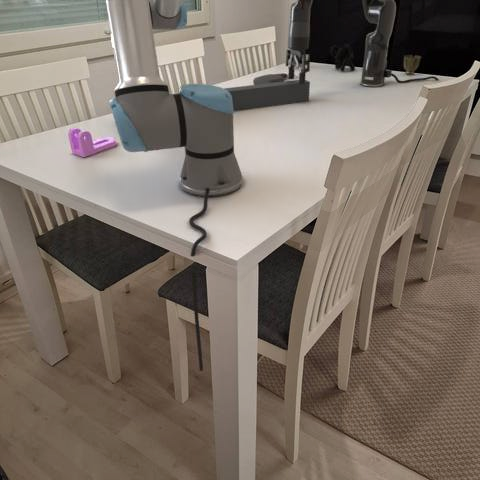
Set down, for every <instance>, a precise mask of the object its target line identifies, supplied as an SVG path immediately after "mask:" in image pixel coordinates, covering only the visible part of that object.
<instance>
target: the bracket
mask: <svg viewBox="0 0 480 480" xmlns="http://www.w3.org/2000/svg"><path fill="white" fill-rule="evenodd" d="M67 136H68V141H69V146H70V150H71V153H72V154H73V155H77V156H79V157H82V158H87V157H90V156H92V155H95V154H97V153H99V152H102V151H105V150H108V149H111V148H113V147H115V146H117V140H116V138H115V137H108V136H107V137H101V138H98V139H95V140H93V136H92V134H91V132H89V131H86V130H81V129H80V128H77V127H72V128H70V129H69V130H68V133H67Z"/></svg>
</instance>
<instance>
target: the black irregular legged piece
mask: <svg viewBox="0 0 480 480" xmlns="http://www.w3.org/2000/svg"><path fill="white" fill-rule="evenodd" d="M335 51H336V52H335ZM348 54H349V56H348ZM330 55H331V57H332V58H334V59H335V63H334V68H335V69H336V70H339V71H340V72H344V71H345V70H346V66H348V68H349V69H350V70H351V71H354V70H355V69H356V66H355V64H354V63H353V62H352V60H353V59H354V57H355V55H354V52H353V48H352V47H351V45H350V44H348V43H346V44H344V48H343V47H339V46H337V45H332V46H331V47H330Z"/></svg>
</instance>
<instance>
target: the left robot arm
mask: <svg viewBox="0 0 480 480" xmlns="http://www.w3.org/2000/svg"><path fill="white" fill-rule="evenodd" d="M105 6H106V11H107V17H108V18H107V19H108V25H109V29H110V38H111V45H112V48H114V50H113V55H114V61H115V62H116V64H117V65H116V66H117V70H118V71H117V72H118V76H119V83H118V84H117V86H116V87H115V88H114V97H115V98H111V99H110V100H109V106H110V110H111V113H112V116H113V119H114V123H115V126H116V129H117V133H118V136H119V140H120V143H121V145H122V148H123V149H124V150H125V151H127V152H128V153H143V152H144V153H148V152H152V151H160V150H169V149H177V148H184V154H185V155H184V158H183V164H182V168H181V171H180V177H179V183H180V184H179V185H180V188H181V189H182V191H184V192H186V193H187V194H190V195H194V196H199V197H203V207H202V209H201V210H200V211H199V212H198V213H195V214H194V215H192V216H191V217H190V218H189V221H188V222H189V223H188V224H189V225H190V226H191V227H192V228H194V229H196V230H198V231H200V232H201V233H202V235H201V236H200V237H199V238H198V239H196V240H195V241H194V243H193V244H192V247H191V253H190V257H195V256H196V251H197V248H198V246H199V244H200V243H202V242H203V241H204V240H205V239H206V238H207V231H206V229H205V228H203V227H202V226H200V225H198V224H196V223H195V222H194V220H196V219H198V218H200V217H201V216H203V215H204V214H205V213H206V211H207V208H208V201H209V200H208V199H209V197H221V196H224V195H229V194H232V193H234V192H235V191H237V190H239V189H240V188H241V187H242V185H243V174H242V171H241V168H240V165H239V163H238V160H237V157H236V154H235V133H234V127H235V126H234V114H235V111H234V110H233V102H232V96H231V94H230V93H229V92H228V91H227V90H226V89H224V88H225V87H220V86H218V85H214V84H213V85H212V84H206V83H187V84H183V85H181V86H179V90H178V93H170V88H169V85H168V84H167V83H166V82H165V81H164V80H163V79H162V78H161V76H160V69H159V63H158V55H157V49H156V42H155V36H154V31H163V30H174V31H175V30H177V29H184V28H186V27H187V23H188V12H187V5H186V3H185V1H184V0H153V1H150V0H105ZM191 283H192V299H193V301H192V302H193V315H194V325H195V336H196V344H197V346H196V347H197V357H198V367H199V368H198V369H199V371H203V370H204V365H203V364H204V363H203V354H202V342H201V332H200V330H201V329H200V319H199V304H198V290H197V289H198V288H197V274H196V272H194V271H191Z"/></svg>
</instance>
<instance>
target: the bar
mask: <svg viewBox="0 0 480 480" xmlns="http://www.w3.org/2000/svg"><path fill="white" fill-rule="evenodd" d="M310 86H311V81H309V80H307V79H305V83H303V84H300V83H299V79H292V80H284V82H275V83H267V84H258V85H254V84H251V85H242V86H234V87H223V88H224V89H226V90H227V91H228V92H229V93H230V94H231V96H232V102H233V110H234V112H237V111H245V110H252V109H260V108H266V107H267V108H268V107H274V106H275V107H276V106H281V105H282V106H283V105H290V104H297V103H305V102H309V101H310V88H311V87H310Z"/></svg>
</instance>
